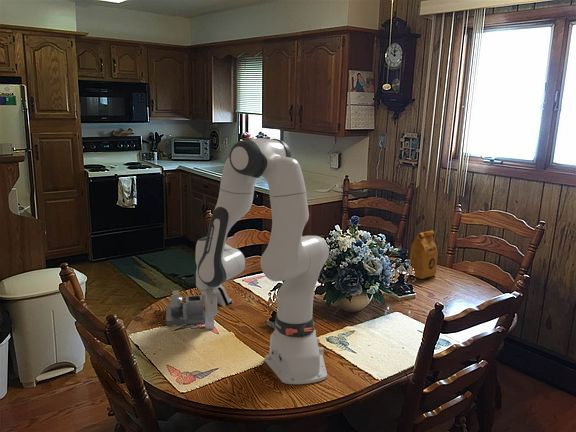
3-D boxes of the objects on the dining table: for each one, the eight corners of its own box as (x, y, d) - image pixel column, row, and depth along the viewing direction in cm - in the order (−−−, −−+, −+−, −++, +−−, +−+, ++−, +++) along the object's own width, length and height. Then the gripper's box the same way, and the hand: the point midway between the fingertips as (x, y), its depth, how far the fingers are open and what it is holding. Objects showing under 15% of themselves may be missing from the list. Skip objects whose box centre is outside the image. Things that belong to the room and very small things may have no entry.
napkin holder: (234, 303, 197) (226, 283, 193) (224, 310, 195) (217, 289, 190) (211, 291, 209) (204, 271, 205) (202, 297, 207) (195, 277, 203)
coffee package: (439, 276, 233) (443, 232, 228) (421, 281, 226) (425, 235, 221) (423, 270, 241) (426, 227, 236) (405, 275, 234) (409, 230, 229)
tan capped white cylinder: (216, 329, 174) (215, 302, 172) (203, 330, 173) (203, 303, 171) (215, 324, 178) (214, 297, 176) (202, 325, 177) (202, 298, 175)
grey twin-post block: (205, 322, 179) (205, 302, 177) (166, 326, 176) (165, 305, 174) (202, 305, 195) (201, 286, 193) (165, 307, 191) (165, 288, 190)
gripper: (221, 291, 163) (221, 329, 166) (214, 270, 182) (215, 305, 185) (202, 292, 161) (202, 331, 164) (197, 271, 180) (198, 306, 184)
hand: (209, 317), depth 175 cm, fingers closed on tan capped white cylinder, 4 cm apart
